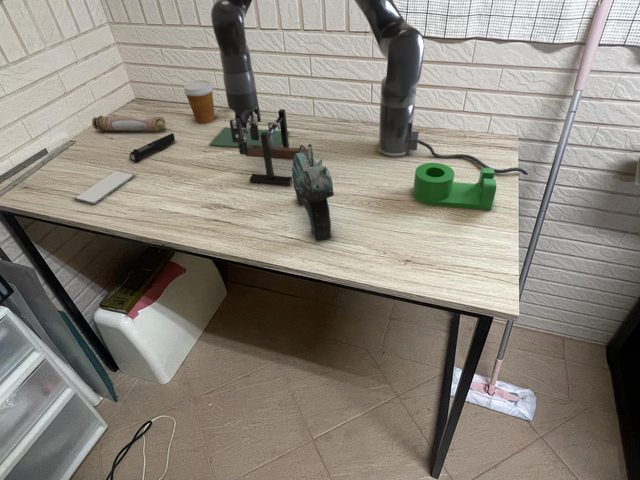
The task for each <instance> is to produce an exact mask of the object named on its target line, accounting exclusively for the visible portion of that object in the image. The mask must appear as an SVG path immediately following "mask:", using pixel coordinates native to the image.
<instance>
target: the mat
mask: <svg viewBox="0 0 640 480" xmlns="http://www.w3.org/2000/svg"><path fill="white" fill-rule="evenodd" d="M244 129H245V128H242V130H244ZM258 131H259V140H258V141H256V140H252V139H251V134H250V128H249V133H248V134H247V138H246V141H247V145H259V146H262V141H261V134H262V132H266V133H267V132H268V131H269V129H259V128H258ZM287 132H288V135H289V134H290V131H288V130H287ZM235 135H236V134H235ZM242 135H243V133H242ZM272 141H273V146H274V147H282V138H281V130H276V129H275V130H274V132H273V133H272ZM269 143H270V137H269ZM208 145H209V147H221V148H232V149H233V148H234V149H239V146H238V143H233V141H232V134H231V128H230V127H224V128H223V129H222V130H221V131H220V132H218V134H217V135H216V136H215V138H213V139H212V141H211V142H210V143H209V144H208ZM270 146H271V143H270Z"/></svg>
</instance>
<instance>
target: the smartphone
mask: <svg viewBox="0 0 640 480" xmlns="http://www.w3.org/2000/svg"><path fill="white" fill-rule="evenodd" d="M134 176H135V175H134V174H133V173H130V172H126V171H121V170H113V171H112V172H111V173H109V174H108V175H106V176H105V177H104V178H102V179H101V180H99V181H98V182H96V183H95V184H93V185H92V186H90V187H88V188H87V189H85V190H84V191H83V192H81V193H78V195H76V196H74V200H76V201H79V202H83V203H85V204H86V203H87V204H89V205H94V204H97V203H98V202H99V201H101V200H102V199H103V198H106V197H107V196H108V195H109V194H111V193H112V192H114V191H115V190H116V189H117V188H119V187H121V186H122V185H123V184H125V183H126V182H128V181H129V180H131V179H132V178H133V177H134Z"/></svg>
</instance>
